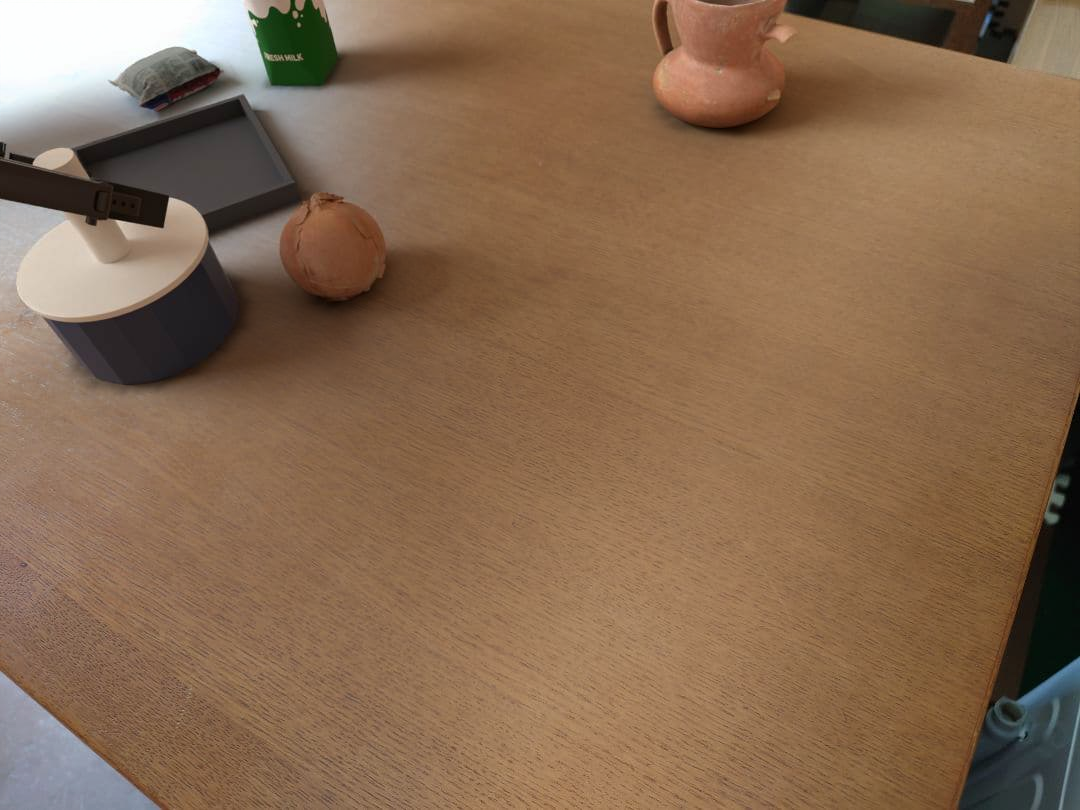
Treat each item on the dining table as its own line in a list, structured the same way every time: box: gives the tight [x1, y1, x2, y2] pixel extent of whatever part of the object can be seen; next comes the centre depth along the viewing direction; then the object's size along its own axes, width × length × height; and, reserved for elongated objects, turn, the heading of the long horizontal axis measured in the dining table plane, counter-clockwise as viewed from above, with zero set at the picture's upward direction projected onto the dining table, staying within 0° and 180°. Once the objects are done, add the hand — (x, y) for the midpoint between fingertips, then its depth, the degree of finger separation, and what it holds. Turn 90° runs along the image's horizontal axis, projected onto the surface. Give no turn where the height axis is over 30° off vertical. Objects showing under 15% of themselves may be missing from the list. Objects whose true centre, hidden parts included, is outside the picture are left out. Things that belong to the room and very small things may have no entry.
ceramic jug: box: [651, 0, 798, 129], centre depth 84 cm, size 18×14×14 cm
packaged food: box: [107, 46, 225, 111], centre depth 99 cm, size 9×12×5 cm
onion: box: [279, 191, 387, 302], centre depth 71 cm, size 10×9×10 cm
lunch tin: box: [41, 239, 240, 385], centre depth 69 cm, size 15×15×8 cm
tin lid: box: [15, 147, 210, 322], centre depth 62 cm, size 16×16×10 cm
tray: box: [70, 93, 302, 234], centre depth 86 cm, size 22×21×3 cm
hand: (123, 199), depth 65 cm, fingers open, 8 cm apart
